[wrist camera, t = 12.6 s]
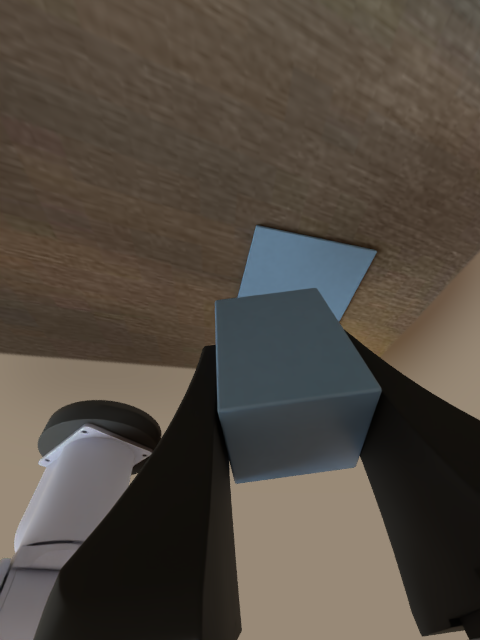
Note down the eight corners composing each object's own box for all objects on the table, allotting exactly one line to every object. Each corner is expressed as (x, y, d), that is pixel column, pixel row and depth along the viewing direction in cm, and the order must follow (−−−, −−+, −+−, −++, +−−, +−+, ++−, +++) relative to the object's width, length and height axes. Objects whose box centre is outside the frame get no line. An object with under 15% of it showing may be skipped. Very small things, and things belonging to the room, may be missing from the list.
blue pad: (228, 330, 20) (229, 333, 20) (256, 224, 16) (257, 226, 15) (325, 342, 22) (326, 345, 22) (375, 249, 17) (377, 251, 17)
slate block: (317, 286, 10) (384, 389, 6) (310, 359, 13) (356, 468, 9) (214, 299, 10) (217, 411, 6) (227, 370, 13) (234, 485, 9)
